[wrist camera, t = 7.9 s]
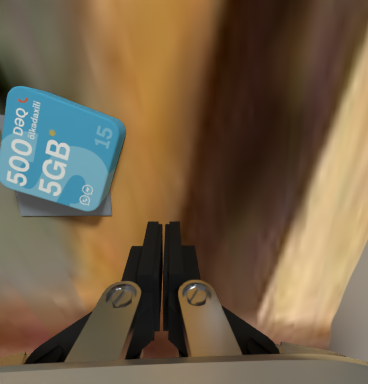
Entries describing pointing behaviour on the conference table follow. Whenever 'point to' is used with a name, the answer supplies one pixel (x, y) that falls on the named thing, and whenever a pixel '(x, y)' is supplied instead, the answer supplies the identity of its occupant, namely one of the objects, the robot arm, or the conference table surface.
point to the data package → (58, 149)
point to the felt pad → (54, 203)
